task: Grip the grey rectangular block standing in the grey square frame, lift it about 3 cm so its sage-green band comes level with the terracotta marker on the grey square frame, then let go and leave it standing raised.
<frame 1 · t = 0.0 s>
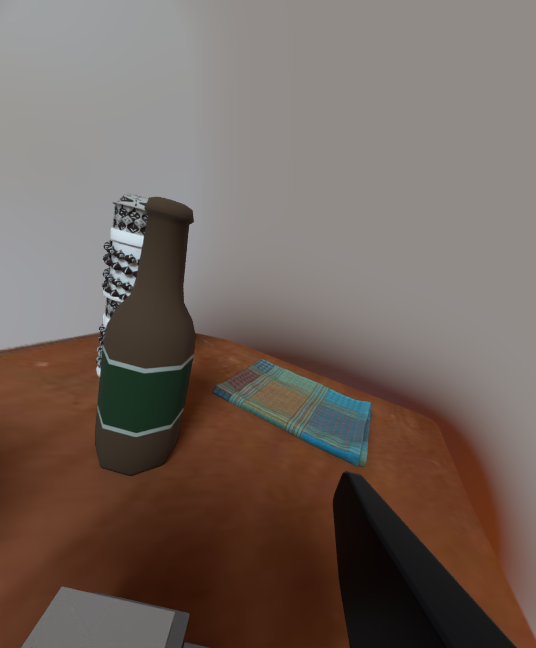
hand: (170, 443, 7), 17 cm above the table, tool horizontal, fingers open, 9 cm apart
beer bottle: (137, 448, 27), on the table
dish towel: (296, 407, 43), on the table
decorative candle: (128, 371, 40), on the table
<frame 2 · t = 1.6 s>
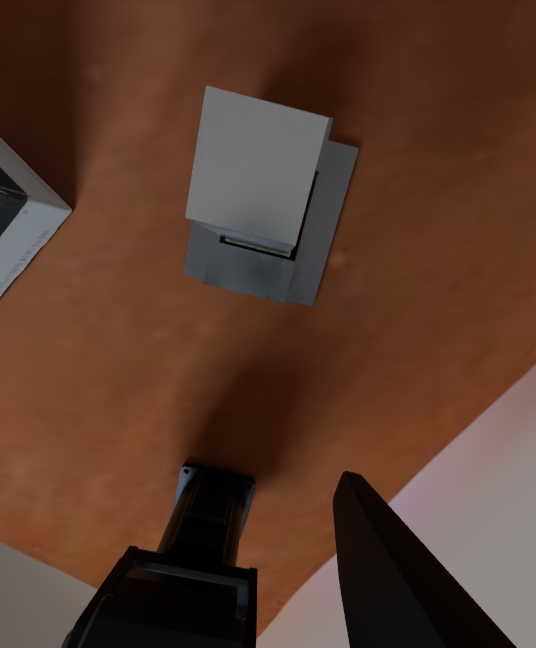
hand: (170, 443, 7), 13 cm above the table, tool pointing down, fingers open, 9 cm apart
grey square frame: (266, 218, 18), on the table
grey rectangular block: (261, 201, 13), point 5 cm above the table, slide at 0.0 cm
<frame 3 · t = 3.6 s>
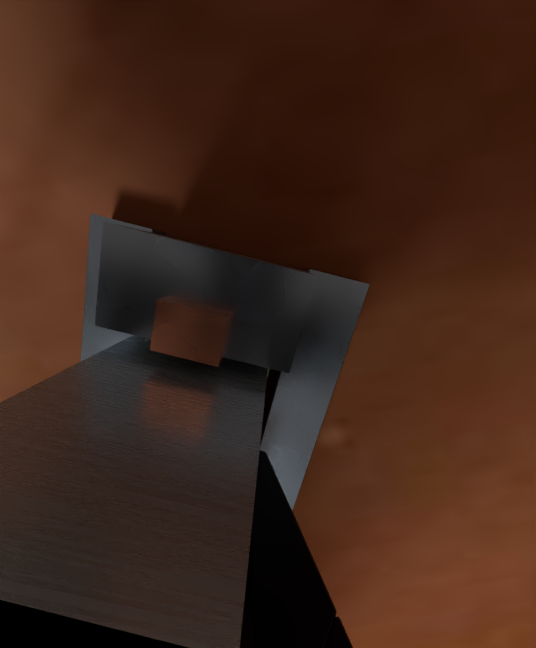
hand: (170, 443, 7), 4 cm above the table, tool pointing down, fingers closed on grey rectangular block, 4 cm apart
grey square frame: (210, 374, 10), on the table
grey rectangular block: (158, 463, 6), point 5 cm above the table, slide at 0.0 cm, touching gripper
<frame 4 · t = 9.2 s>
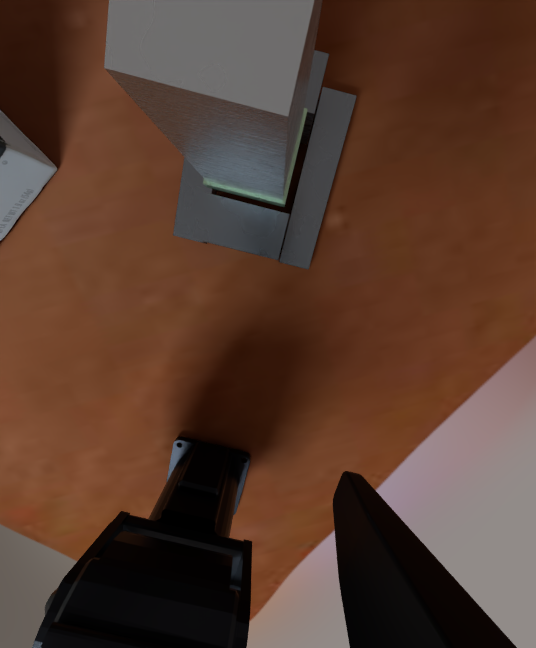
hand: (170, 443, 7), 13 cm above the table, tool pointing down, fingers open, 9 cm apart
grey square frame: (259, 175, 17), on the table
grey rectangular block: (244, 107, 9), point 8 cm above the table, slide at 2.9 cm
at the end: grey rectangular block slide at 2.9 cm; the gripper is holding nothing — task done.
